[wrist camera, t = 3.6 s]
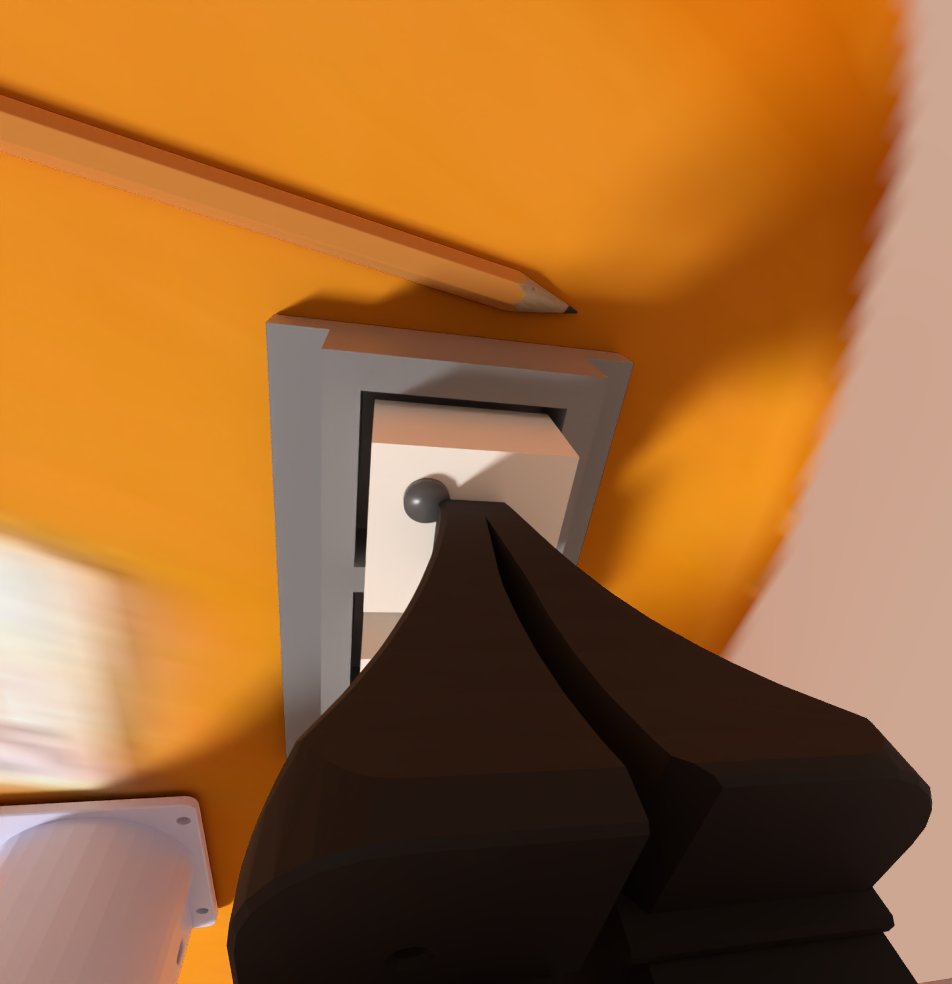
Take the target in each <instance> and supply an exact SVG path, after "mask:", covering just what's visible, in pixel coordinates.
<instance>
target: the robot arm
mask: <svg viewBox="0 0 952 984" xmlns="http://www.w3.org/2000/svg"><path fill="white" fill-rule="evenodd" d="M931 811H932V799H931V791H930V787H929V786H928V784H927V783H926V782H925V781H924V780H923V779H922V778H921V777H920V776H919V775H918V773H917V772H916V771H915V770H914V769H913V768H912V767H911V766H910V764H909V763H908V762H907V761H906V760H905V759H904V758H903V757H902V756H901V755H900V753H899V752H898V751H897V750H896V749H895V748H894V747H893V746H892V744H891V743H890V742H889V741H888V740H887V739H886V738H885V737H884V736H883V735H882V733H881V732H880V731H879V730H878V729H877V728H876V727H875V726H874V725H873V724H872V723H871V722H870V721H869V720H868V719H867V718H865V717H862V716H860V715H857V714H854V713H852V712H849V711H847V710H844V709H842V708H839V707H836V706H834V705H831V704H828V703H826V702H824V701H821V700H818V699H816V698H813V697H811V696H808V695H806V694H803V693H800V692H798V691H795V690H792V689H790V688H788V687H785V686H783V685H780V684H778V683H776V682H773V681H771V680H769V679H767V678H765V677H762V676H760V675H758V674H756V673H753V672H751V671H749V670H747V669H745V668H743V667H740V666H738V665H736V664H734V663H732V662H730V661H728V660H726V659H724V658H722V657H720V656H718V655H716V654H714V653H712V652H710V651H708V650H706V649H704V648H702V647H700V646H698V645H696V644H694V643H693V642H691V641H689V640H687V639H685V638H683V637H682V636H680V635H678V634H676V633H674V632H673V631H671V630H669V629H667V628H665V627H664V626H662V625H660V624H659V623H657V622H655V621H654V620H652V619H650V618H649V617H647V616H646V615H644V614H642V613H641V612H639V611H638V610H636V609H635V608H633V607H632V606H630V605H629V604H627V603H626V602H624V601H623V600H621V599H620V598H618V597H617V596H615V595H614V594H612V593H611V592H610V591H608V590H607V589H605V588H604V587H603V586H601V585H600V584H599V583H597V582H596V581H595V580H594V579H592V578H591V577H590V576H588V575H587V574H586V573H585V572H583V571H582V570H581V569H579V568H578V567H577V566H576V565H575V564H573V563H572V562H571V561H570V560H569V559H567V558H566V557H565V556H564V555H563V554H562V553H560V552H559V551H558V550H557V549H556V548H555V547H554V546H552V545H551V544H550V543H549V542H548V541H547V540H546V539H545V538H544V537H542V536H541V535H540V534H539V533H538V532H537V531H536V530H535V529H534V528H533V527H532V526H531V525H529V524H528V523H527V522H526V521H525V520H524V519H523V518H522V517H521V516H520V515H519V514H518V513H517V512H515V511H514V510H513V509H512V508H511V507H510V506H509V505H507V504H506V503H505V502H489V501H470V500H451V499H444V500H443V501H442V502H440V503H439V504H438V511H437V519H436V527H435V535H434V543H433V552H432V555H431V558H430V560H429V562H428V565H427V567H426V569H425V572H424V574H423V576H422V579H421V581H420V583H419V585H418V587H417V589H416V591H415V593H414V595H413V597H412V599H411V601H410V602H409V604H408V606H407V608H406V609H405V611H404V613H403V614H402V616H401V618H400V619H399V621H398V622H397V624H396V625H395V627H394V628H393V630H392V631H391V633H390V634H389V636H388V637H387V639H386V640H385V642H384V643H383V645H382V646H381V647H380V649H379V650H378V651H377V653H376V654H375V655H374V656H373V658H372V659H371V660H370V661H369V662H368V664H367V665H366V666H365V667H364V669H363V670H362V671H361V672H360V673H359V675H358V676H357V677H356V678H355V680H354V681H353V682H352V683H351V684H350V686H349V687H348V688H347V689H346V690H345V691H344V692H343V694H342V695H341V696H340V697H339V698H338V699H337V700H336V701H335V702H334V703H333V704H332V705H331V706H330V707H329V708H328V709H327V710H326V711H325V712H324V713H323V714H322V715H321V716H320V717H319V718H318V719H317V720H316V721H315V722H314V723H313V724H312V725H311V726H310V727H309V728H308V729H307V730H306V731H305V732H304V733H303V734H302V735H301V736H300V737H299V738H298V739H297V741H296V743H295V744H294V746H293V748H292V750H291V752H290V754H289V756H288V758H287V760H286V762H285V764H284V766H283V768H282V770H281V772H280V773H279V775H278V777H277V779H276V781H275V784H274V786H273V788H272V790H271V792H270V794H269V796H268V798H267V801H266V803H265V805H264V807H263V809H262V812H261V814H260V817H259V819H258V821H257V824H256V826H255V829H254V831H253V834H252V837H251V840H250V842H249V845H248V848H247V851H246V855H245V858H244V861H243V864H242V867H241V871H240V875H239V880H238V885H237V890H236V894H235V899H234V904H233V909H232V913H231V918H230V923H229V930H228V939H227V950H228V956H229V961H230V967H231V973H232V978H233V984H952V978H950V979H944V980H937V981H931V982H924V983H917V982H916V980H915V979H914V977H913V976H912V974H911V973H910V971H909V970H908V968H907V967H906V965H905V964H904V962H903V961H902V960H901V958H900V957H899V955H898V953H897V952H896V951H895V949H894V948H893V946H892V945H891V943H890V942H889V940H888V939H887V937H886V936H885V935H884V933H883V932H886V931H889V930H890V929H891V928H893V927H894V920H893V916H892V914H891V913H890V912H889V910H888V908H887V907H886V906H885V904H884V903H883V901H882V900H881V899H880V897H879V896H878V894H877V893H876V891H875V890H874V889H873V885H874V884H875V883H876V882H877V881H878V880H879V879H880V878H881V877H882V876H883V875H884V874H885V873H886V872H887V871H888V870H889V868H890V867H891V866H892V865H893V864H894V863H895V862H896V861H897V860H898V859H899V858H900V857H901V856H902V854H903V853H905V851H906V850H907V849H908V848H909V847H910V846H911V845H912V844H913V843H914V841H915V840H916V839H917V837H918V836H919V835H920V834H921V832H922V831H923V830H924V828H925V827H926V825H927V822H928V819H929V817H930V813H931ZM217 915H218V907H217V902H216V896H215V891H214V885H213V879H212V874H211V868H210V863H209V857H208V852H207V846H206V841H205V835H204V829H203V824H202V818H201V813H200V807H199V803H198V801H197V800H196V799H195V798H193V797H189V796H177V797H159V798H140V799H122V800H104V801H85V802H67V803H49V804H30V805H12V806H0V984H177V982H178V978H179V975H180V971H181V967H182V964H183V960H184V956H185V953H186V949H187V945H188V942H189V938H190V934H191V930H192V928H198V927H207V926H210V925H213V924H214V923H215V922H216V920H217Z"/></svg>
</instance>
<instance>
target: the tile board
mask: <svg viewBox="0 0 952 984" xmlns="http://www.w3.org/2000/svg"><path fill="white" fill-rule="evenodd" d="M266 338H267V359H268V381H269V402H270V423H271V445H272V466H273V487H274V509H275V530H276V551H277V573H278V594H279V615H280V637H281V658H282V679H283V701H284V722H285V743H286V760H287V758H288V756H289V754H290V752H291V750H292V748H293V746H294V744H295V743H296V741H297V739H298V738H299V737H300V736H301V735H302V734H303V733H304V732H305V731H306V730H307V729H308V728H309V727H310V726H311V725H312V724H313V723H314V722H315V721H316V720H317V719H318V718H319V717H320V716H321V715H322V714H323V713H324V712H325V711H326V710H327V709H328V708H329V707H330V706H331V705H332V704H333V703H334V702H335V701H336V700H337V699H338V698H339V697H340V696H341V695H342V694H343V692H344V691H345V690H346V689H347V688H348V687H349V686H350V684H351V683H352V682H353V681H354V680H355V678H356V677H357V676H358V675H359V673H360V666H361V649H362V632H363V616H364V612H363V606H364V586H365V566H366V546H367V526H368V507H369V487H370V467H371V447H372V432H373V418H374V404H375V399H378V400H389V401H401V402H413V403H424V404H436V405H448V406H459V407H471V408H482V409H494V410H506V411H517V412H529V413H541V414H548V416H549V417H550V418H551V420H552V421H553V422H554V424H555V425H556V426H557V428H558V429H559V430H560V432H561V433H562V434H563V436H564V437H565V438H566V440H567V441H568V442H569V444H570V445H571V446H572V448H573V449H574V450H575V452H576V453H577V454H578V456H579V461H578V465H577V469H576V473H575V477H574V481H573V485H572V488H571V492H570V496H569V500H568V504H567V508H566V512H565V516H564V520H563V524H562V528H561V532H560V536H559V540H558V543H557V547H556V549H557V550H558V551H559V552H560V553H562V554H563V555H564V556H565V557H566V558H567V559H569V560H570V561H571V562H572V563H573V564H575V565H576V566H577V563H578V559H579V556H580V552H581V549H582V545H583V542H584V538H585V534H586V531H587V527H588V524H589V520H590V517H591V513H592V510H593V506H594V503H595V499H596V495H597V492H598V488H599V485H600V481H601V478H602V474H603V471H604V467H605V464H606V460H607V456H608V453H609V449H610V446H611V442H612V439H613V435H614V432H615V428H616V425H617V421H618V417H619V414H620V410H621V407H622V403H623V400H624V396H625V393H626V389H627V386H628V382H629V378H630V375H631V371H632V368H633V364H634V363H633V362H632V361H630V360H629V359H627V358H626V357H624V356H623V355H621V354H620V353H614V352H605V351H596V350H587V349H578V348H570V347H561V346H552V345H543V344H534V343H525V342H516V341H508V340H499V339H490V338H481V337H472V336H463V335H454V334H446V333H437V332H428V331H419V330H410V329H401V328H392V327H383V326H375V325H366V324H357V323H348V322H339V321H330V320H321V319H313V318H304V317H295V316H286V315H277V314H274V315H273V316H272V317H271V318H270V319H269V320H268V321H267V322H266Z"/></svg>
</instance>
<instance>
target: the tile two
mask: <svg viewBox="0 0 952 984" xmlns="http://www.w3.org/2000/svg"><path fill="white" fill-rule="evenodd" d="M578 461H579V456H578V454H577V453H576V452H575V450H574V449H573V448H572V446H571V445H570V444H569V442H568V441H567V440H566V438H565V437H564V436H563V434H562V433H561V432H560V430H559V429H558V428H557V426H556V425H555V424H554V422H553V421H552V420H551V418H550V417H549V416H548V414H541V413H529V412H517V411H506V410H494V409H482V408H471V407H459V406H448V405H436V404H424V403H413V402H401V401H389V400H378V399H375V404H374V418H373V432H372V447H371V467H370V487H369V507H368V526H367V546H366V566H365V586H364V606H363V612H404V611H405V609H406V608H407V606H408V604H409V602H410V601H411V599H412V597H413V595H414V593H415V591H416V589H417V587H418V585H419V583H420V581H421V579H422V576H423V574H424V572H425V569H426V567H427V565H428V562H429V560H430V558H431V555H432V552H433V543H434V535H435V527H436V519H437V511H438V504H439V503H440V502H442V501H443V500H444V499H451V500H470V501H489V502H505V503H506V504H507V505H509V506H510V507H511V508H512V509H513V510H514V511H515V512H517V513H518V514H519V515H520V516H521V517H522V518H523V519H524V520H525V521H526V522H527V523H528V524H529V525H531V526H532V527H533V528H534V529H535V530H536V531H537V532H538V533H539V534H540V535H541V536H542V537H544V538H545V539H546V540H547V541H548V542H549V543H550V544H551V545H552V546H554V547H555V548H556V547H557V543H558V540H559V536H560V532H561V528H562V524H563V520H564V516H565V512H566V508H567V504H568V500H569V496H570V492H571V488H572V485H573V481H574V477H575V473H576V469H577V465H578Z"/></svg>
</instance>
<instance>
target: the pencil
mask: <svg viewBox="0 0 952 984" xmlns="http://www.w3.org/2000/svg"><path fill="white" fill-rule="evenodd" d="M0 152H3V153H6V154H10V155H13V156H16V157H19V158H22V159H26V160H29V161H32V162H35V163H38V164H41V165H45V166H48V167H51V168H54V169H57V170H60V171H64V172H67V173H70V174H73V175H76V176H79V177H83V178H86V179H89V180H92V181H95V182H98V183H102V184H105V185H108V186H111V187H114V188H118V189H121V190H124V191H127V192H130V193H133V194H137V195H140V196H143V197H146V198H149V199H152V200H156V201H159V202H162V203H165V204H168V205H171V206H175V207H178V208H181V209H184V210H187V211H190V212H194V213H197V214H200V215H203V216H206V217H210V218H213V219H216V220H219V221H222V222H225V223H229V224H232V225H235V226H238V227H241V228H244V229H248V230H251V231H254V232H257V233H260V234H263V235H267V236H270V237H273V238H276V239H279V240H282V241H286V242H289V243H292V244H295V245H298V246H302V247H305V248H308V249H311V250H314V251H317V252H321V253H324V254H327V255H330V256H333V257H336V258H340V259H343V260H346V261H349V262H352V263H355V264H359V265H362V266H365V267H368V268H371V269H374V270H378V271H381V272H384V273H387V274H390V275H394V276H397V277H400V278H403V279H406V280H409V281H413V282H416V283H419V284H422V285H425V286H428V287H432V288H435V289H438V290H441V291H444V292H447V293H451V294H454V295H457V296H460V297H463V298H466V299H470V300H473V301H476V302H479V303H482V304H486V305H489V306H492V307H495V308H498V309H501V310H505V311H516V312H546V313H575V314H577V311H576V310H575V309H573V308H572V307H570V306H569V305H568V304H566V303H565V302H563V301H562V300H560V299H559V298H557V297H556V296H554V295H553V294H552V293H550V292H549V291H547V290H546V289H544V288H543V287H541V286H540V285H539V284H537V283H536V282H534V281H533V280H531V279H530V278H528V277H527V276H525V275H524V274H523V273H521V272H520V271H518V270H515V269H512V268H509V267H506V266H503V265H500V264H497V263H494V262H491V261H488V260H485V259H482V258H479V257H476V256H474V255H471V254H468V253H465V252H462V251H459V250H456V249H453V248H450V247H447V246H444V245H441V244H438V243H435V242H432V241H429V240H426V239H424V238H421V237H418V236H415V235H412V234H409V233H406V232H403V231H400V230H397V229H394V228H391V227H388V226H385V225H382V224H379V223H376V222H374V221H371V220H368V219H365V218H362V217H359V216H356V215H353V214H350V213H347V212H344V211H341V210H338V209H335V208H332V207H329V206H326V205H323V204H321V203H318V202H315V201H312V200H309V199H306V198H303V197H300V196H297V195H294V194H291V193H288V192H285V191H282V190H279V189H276V188H273V187H271V186H268V185H265V184H262V183H259V182H256V181H253V180H250V179H247V178H244V177H241V176H238V175H235V174H232V173H229V172H226V171H223V170H221V169H218V168H215V167H212V166H209V165H206V164H203V163H200V162H197V161H194V160H191V159H188V158H185V157H182V156H179V155H176V154H173V153H171V152H168V151H165V150H162V149H159V148H156V147H153V146H150V145H147V144H144V143H141V142H138V141H135V140H132V139H129V138H126V137H123V136H120V135H118V134H115V133H112V132H109V131H106V130H103V129H100V128H97V127H94V126H91V125H88V124H85V123H82V122H79V121H76V120H73V119H70V118H68V117H65V116H62V115H59V114H56V113H53V112H50V111H47V110H44V109H41V108H38V107H35V106H32V105H29V104H26V103H23V102H20V101H18V100H15V99H12V98H9V97H6V96H3V95H0Z"/></svg>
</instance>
